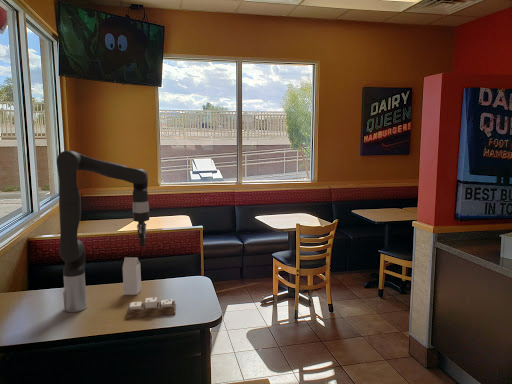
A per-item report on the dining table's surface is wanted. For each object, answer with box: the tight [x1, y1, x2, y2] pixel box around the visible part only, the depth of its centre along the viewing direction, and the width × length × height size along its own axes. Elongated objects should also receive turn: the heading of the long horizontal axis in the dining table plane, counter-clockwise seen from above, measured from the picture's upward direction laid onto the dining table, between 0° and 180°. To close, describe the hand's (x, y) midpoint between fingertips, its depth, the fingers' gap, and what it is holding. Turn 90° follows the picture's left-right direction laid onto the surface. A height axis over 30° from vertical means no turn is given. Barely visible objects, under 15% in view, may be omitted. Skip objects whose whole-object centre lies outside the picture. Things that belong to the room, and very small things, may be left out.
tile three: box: [160, 299, 173, 307], centre depth 187 cm, size 5×5×3 cm
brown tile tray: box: [125, 300, 177, 320], centre depth 186 cm, size 22×10×3 cm, turn 100°
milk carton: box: [121, 257, 142, 296], centre depth 210 cm, size 7×7×19 cm
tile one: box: [129, 301, 143, 310], centre depth 185 cm, size 5×5×3 cm
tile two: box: [144, 296, 158, 308], centre depth 186 cm, size 5×5×3 cm
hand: (142, 246), depth 193 cm, fingers closed
